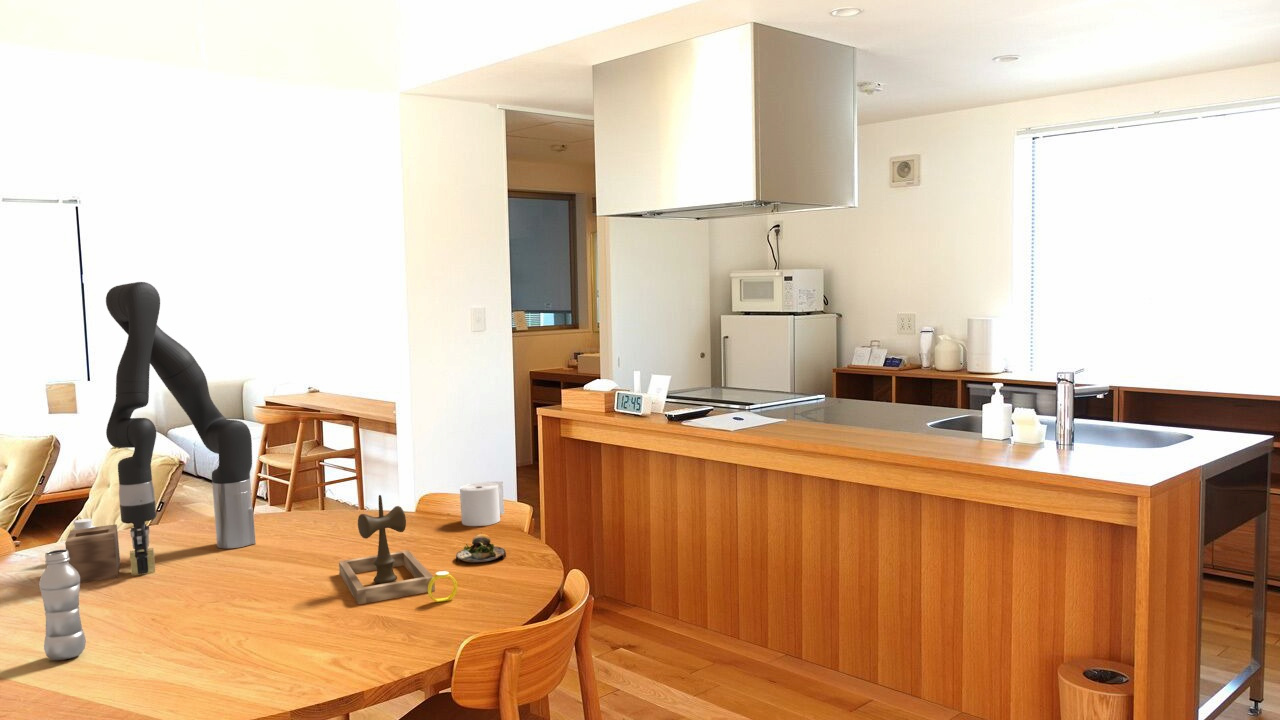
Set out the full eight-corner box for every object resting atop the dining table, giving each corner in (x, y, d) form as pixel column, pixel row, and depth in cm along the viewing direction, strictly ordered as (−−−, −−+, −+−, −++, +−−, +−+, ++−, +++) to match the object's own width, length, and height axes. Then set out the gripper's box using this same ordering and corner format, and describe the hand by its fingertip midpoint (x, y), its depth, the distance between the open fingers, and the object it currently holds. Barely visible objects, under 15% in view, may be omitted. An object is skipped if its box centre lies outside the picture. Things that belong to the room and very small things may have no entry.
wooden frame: (409, 562, 231) (408, 550, 231) (434, 590, 209) (434, 577, 209) (339, 573, 224) (338, 561, 224) (358, 604, 202) (357, 590, 202)
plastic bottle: (56, 652, 182) (46, 548, 180) (93, 649, 182) (84, 546, 180) (38, 665, 175) (27, 558, 174) (76, 663, 176) (66, 555, 174)
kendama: (411, 580, 217) (405, 493, 216) (370, 590, 211) (364, 500, 210) (399, 574, 222) (394, 489, 220) (359, 584, 216) (353, 496, 214)
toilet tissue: (456, 526, 264) (453, 490, 263) (470, 515, 276) (468, 481, 275) (493, 526, 262) (491, 490, 262) (506, 515, 274) (504, 481, 273)
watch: (431, 605, 200) (429, 577, 199) (427, 602, 202) (425, 574, 201) (459, 599, 203) (457, 571, 202) (454, 596, 205) (452, 568, 204)
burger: (446, 565, 229) (444, 534, 229) (473, 551, 240) (471, 521, 240) (490, 568, 225) (488, 537, 224) (515, 554, 236) (513, 524, 235)
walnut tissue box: (120, 563, 241) (116, 524, 240) (117, 577, 229) (114, 535, 228) (74, 570, 237) (70, 530, 236) (69, 584, 225) (65, 542, 224)
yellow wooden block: (155, 569, 234) (153, 547, 234) (155, 572, 232) (153, 550, 232) (132, 573, 232) (130, 551, 232) (131, 575, 230) (129, 553, 230)
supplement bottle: (101, 559, 246) (97, 520, 245) (76, 564, 242) (72, 524, 241) (96, 555, 250) (93, 516, 249) (72, 559, 246) (68, 520, 246)
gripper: (154, 504, 226) (160, 576, 227) (155, 493, 239) (161, 561, 240) (118, 508, 223) (124, 581, 224) (121, 497, 235) (127, 566, 237)
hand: (143, 570), depth 232 cm, fingers open, 3 cm apart
